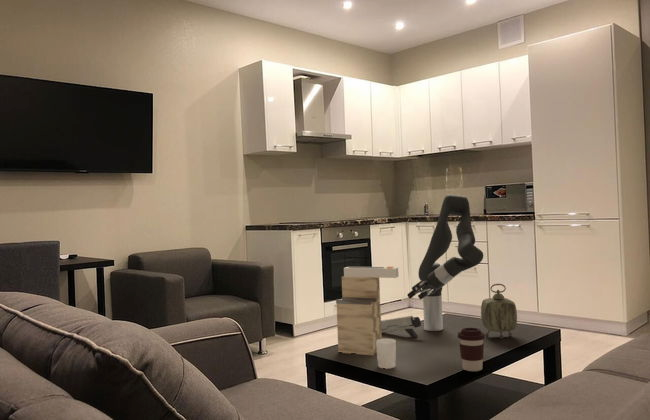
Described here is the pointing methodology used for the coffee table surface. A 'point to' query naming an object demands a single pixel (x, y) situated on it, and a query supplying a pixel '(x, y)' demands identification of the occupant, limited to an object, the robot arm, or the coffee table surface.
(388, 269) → the power strip
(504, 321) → the tabletop clock
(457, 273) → the robot arm
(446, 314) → the coffee table surface
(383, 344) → the white cup
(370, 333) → the step shelf
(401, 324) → the gun
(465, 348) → the coffee cup
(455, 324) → the coffee table surface
